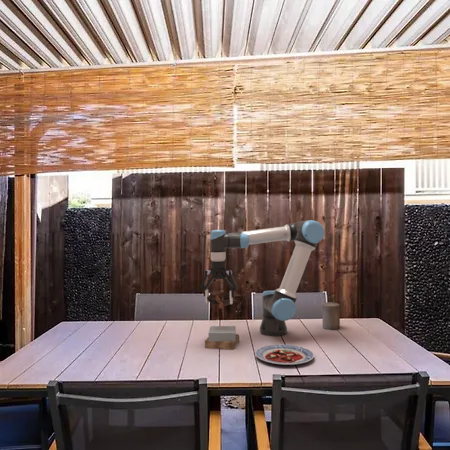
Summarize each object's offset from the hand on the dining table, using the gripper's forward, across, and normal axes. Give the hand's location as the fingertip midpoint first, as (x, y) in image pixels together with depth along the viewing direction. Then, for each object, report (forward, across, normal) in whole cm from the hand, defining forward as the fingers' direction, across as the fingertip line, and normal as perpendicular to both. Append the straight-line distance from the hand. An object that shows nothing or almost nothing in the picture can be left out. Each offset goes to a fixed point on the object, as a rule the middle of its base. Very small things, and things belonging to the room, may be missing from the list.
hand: (219, 303), depth 195 cm
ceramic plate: (+21, -34, +14) cm, 42 cm away
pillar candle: (+21, -54, -43) cm, 72 cm away
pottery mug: (+2, 0, -1) cm, 2 cm away
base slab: (+21, -2, +1) cm, 21 cm away
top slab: (+17, -2, +1) cm, 17 cm away
